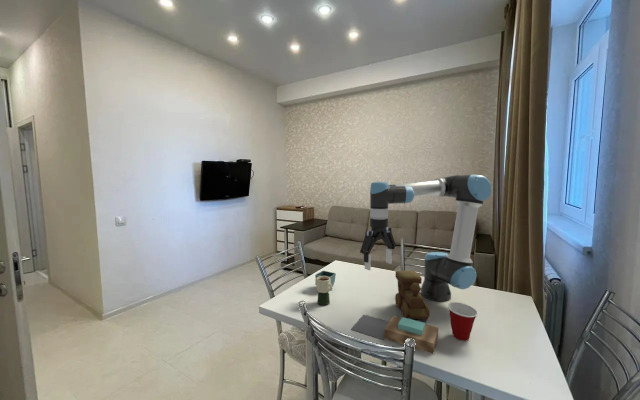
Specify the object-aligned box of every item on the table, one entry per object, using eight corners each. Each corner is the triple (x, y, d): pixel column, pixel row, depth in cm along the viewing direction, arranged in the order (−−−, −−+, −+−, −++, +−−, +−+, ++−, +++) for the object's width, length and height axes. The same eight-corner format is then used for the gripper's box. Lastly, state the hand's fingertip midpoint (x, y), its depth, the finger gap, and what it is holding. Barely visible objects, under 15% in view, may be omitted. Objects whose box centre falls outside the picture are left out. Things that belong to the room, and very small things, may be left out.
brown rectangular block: (438, 337, 107) (438, 327, 107) (433, 354, 97) (433, 343, 97) (393, 324, 116) (393, 315, 116) (384, 338, 106) (384, 329, 106)
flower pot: (336, 288, 155) (336, 273, 154) (328, 293, 147) (328, 277, 146) (323, 285, 159) (323, 270, 159) (314, 290, 152) (314, 274, 151)
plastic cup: (475, 349, 100) (477, 317, 99) (443, 339, 106) (444, 309, 105) (478, 334, 109) (479, 306, 108) (448, 326, 115) (450, 299, 114)
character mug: (336, 304, 135) (336, 279, 134) (327, 309, 130) (327, 283, 129) (320, 297, 143) (320, 273, 142) (310, 302, 137) (310, 277, 136)
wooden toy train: (393, 302, 137) (393, 270, 136) (415, 302, 137) (416, 270, 136) (405, 323, 117) (406, 286, 116) (431, 323, 117) (432, 286, 116)
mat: (393, 323, 117) (393, 322, 117) (383, 340, 105) (383, 339, 105) (363, 315, 125) (363, 314, 125) (350, 329, 113) (350, 329, 113)
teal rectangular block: (425, 327, 107) (425, 323, 106) (422, 335, 101) (422, 330, 101) (402, 321, 111) (402, 317, 111) (398, 328, 106) (398, 323, 106)
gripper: (390, 214, 126) (390, 258, 128) (351, 219, 112) (351, 269, 114) (404, 216, 120) (403, 262, 122) (364, 222, 106) (364, 274, 108)
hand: (378, 266), depth 118 cm, fingers open, 13 cm apart
